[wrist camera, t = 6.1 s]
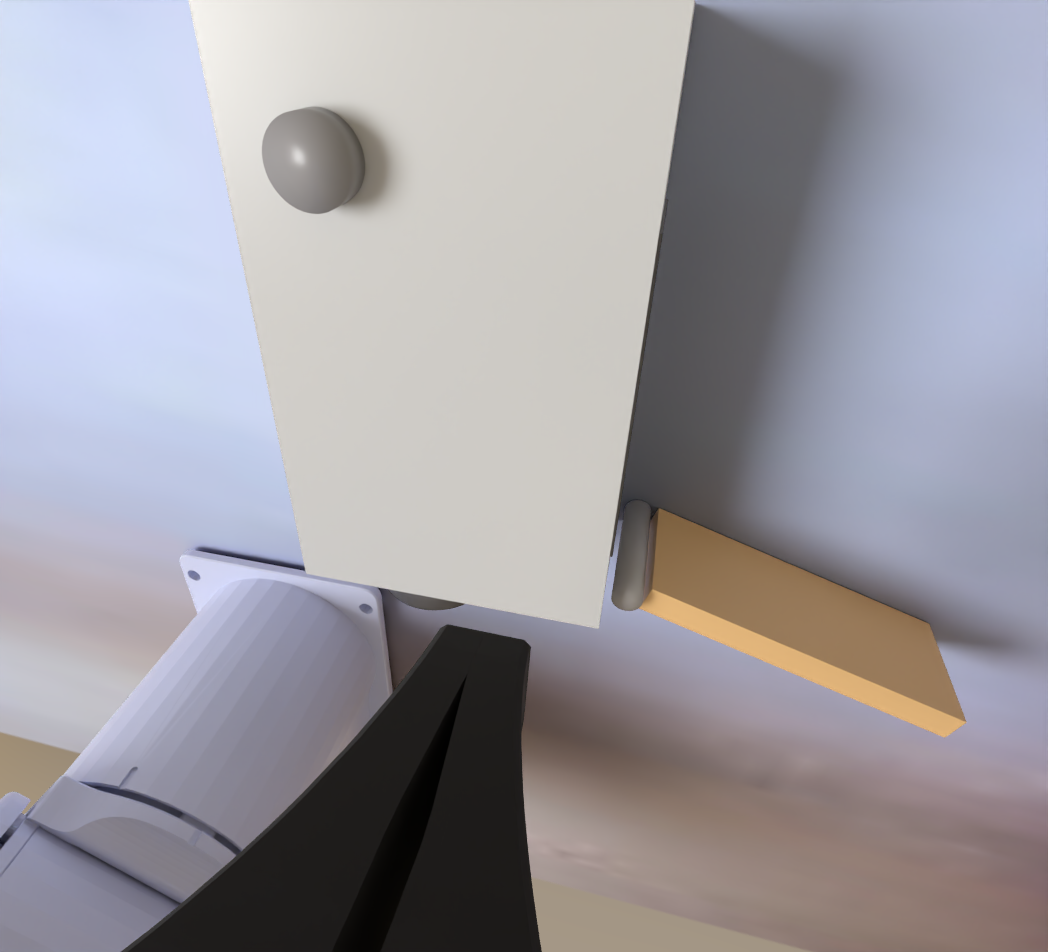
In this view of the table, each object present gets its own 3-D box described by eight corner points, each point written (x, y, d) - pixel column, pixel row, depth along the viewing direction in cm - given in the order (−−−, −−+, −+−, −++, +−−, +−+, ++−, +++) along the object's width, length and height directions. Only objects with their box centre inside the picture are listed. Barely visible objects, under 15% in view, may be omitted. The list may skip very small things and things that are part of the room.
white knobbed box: (613, 549, 21) (593, 678, 17) (374, 509, 22) (302, 620, 18) (698, 3, 13) (699, -2, 9) (314, -15, 14) (159, -26, 10)
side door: (620, 514, 20) (606, 603, 17) (631, 496, 20) (619, 583, 17) (911, 639, 21) (947, 747, 18) (929, 623, 20) (970, 732, 17)
